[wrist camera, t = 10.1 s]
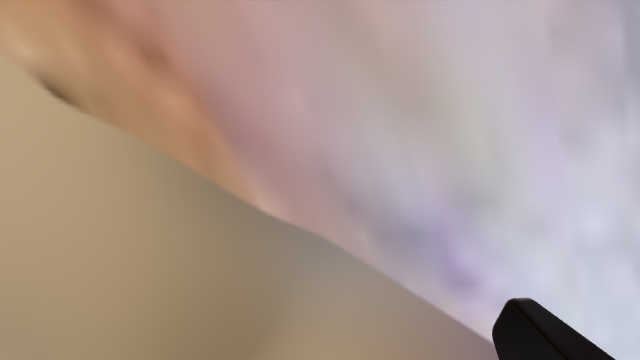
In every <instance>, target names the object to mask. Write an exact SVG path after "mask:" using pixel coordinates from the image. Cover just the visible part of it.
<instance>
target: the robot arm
mask: <svg viewBox="0 0 640 360" xmlns="http://www.w3.org/2000/svg"><path fill="white" fill-rule="evenodd" d="M492 337H493V342H494V345H495V348H496V351H497V354H498V358H499V360H615V359H614V358H613V357H611V356H610V355H608V354H607V353H606V352H604V351H603V350H602V349H600V348H599V347H597V346H596V345H595V344H593V343H592V342H591V341H589V340H588V339H586V338H585V337H584V336H582V335H581V334H580V333H578V332H577V331H575V330H574V329H573V328H571V327H570V326H569V325H567V324H566V323H565V322H563V321H562V320H560V319H559V318H558V317H556V316H555V315H554V314H552V313H551V312H549V311H548V310H547V309H545V308H544V307H543V306H541V305H540V304H538V303H537V302H536V301H534V300H532V299H530V298H513V299H510V300H508V301H507V302H506V304H505V306H504V308H503V309H502V311H501V313H500V315H499V317H498V319H497V320H496V322H495V324H494V326H493V330H492Z"/></svg>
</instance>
